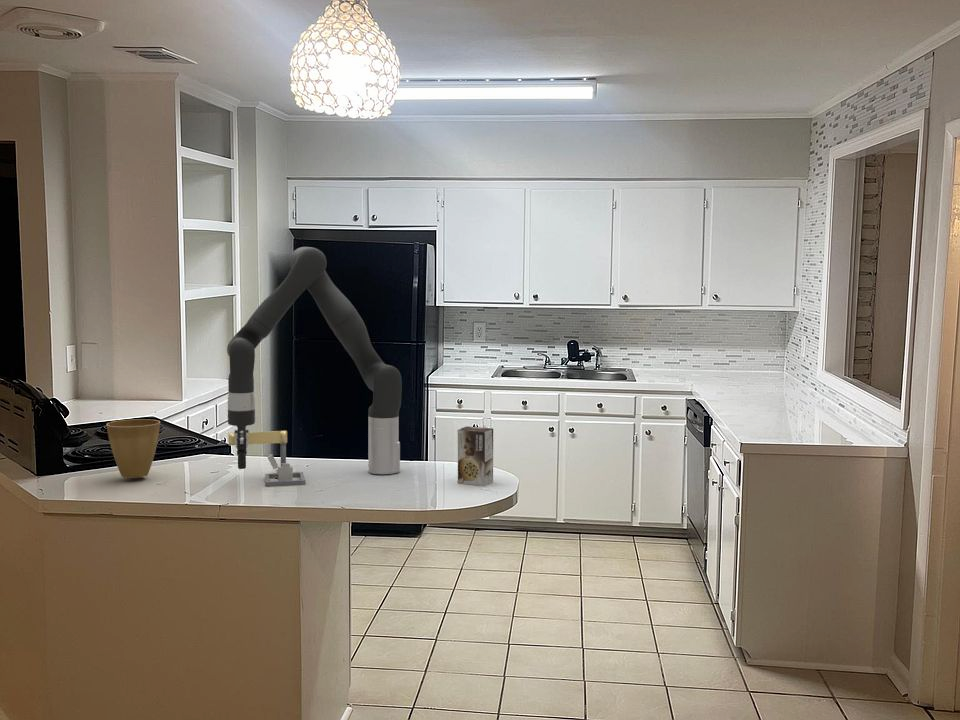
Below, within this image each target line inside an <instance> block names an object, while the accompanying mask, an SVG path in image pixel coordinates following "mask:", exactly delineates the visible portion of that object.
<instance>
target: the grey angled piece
mask: <svg viewBox="0 0 960 720" xmlns="http://www.w3.org/2000/svg"><path fill="white" fill-rule="evenodd" d="M267 460H268V462H269V463H270V465H271V467H272V469H273V470H275V469H276V470H278V478H277V481H287V480H294V477H293V472H294V471H293V470H294V469H293V468H294V467H293V465H291V464H290V463H288V462H286V463H282V466H281V465H279V464H278V462H277V460H276V458H275V457H274V455H273V453H271V454H268V455H267Z"/></svg>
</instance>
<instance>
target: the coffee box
mask: <svg viewBox="0 0 960 720" xmlns="http://www.w3.org/2000/svg"><path fill="white" fill-rule="evenodd" d="M493 482H494V428H492V427H491V428H490V427H481V426H479V427H478V426H464V427H461V428H459V429H457V484H461V483H462V484H464V485H472V486H481V487H486V486H489V485H490V484H492V483H493Z"/></svg>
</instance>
